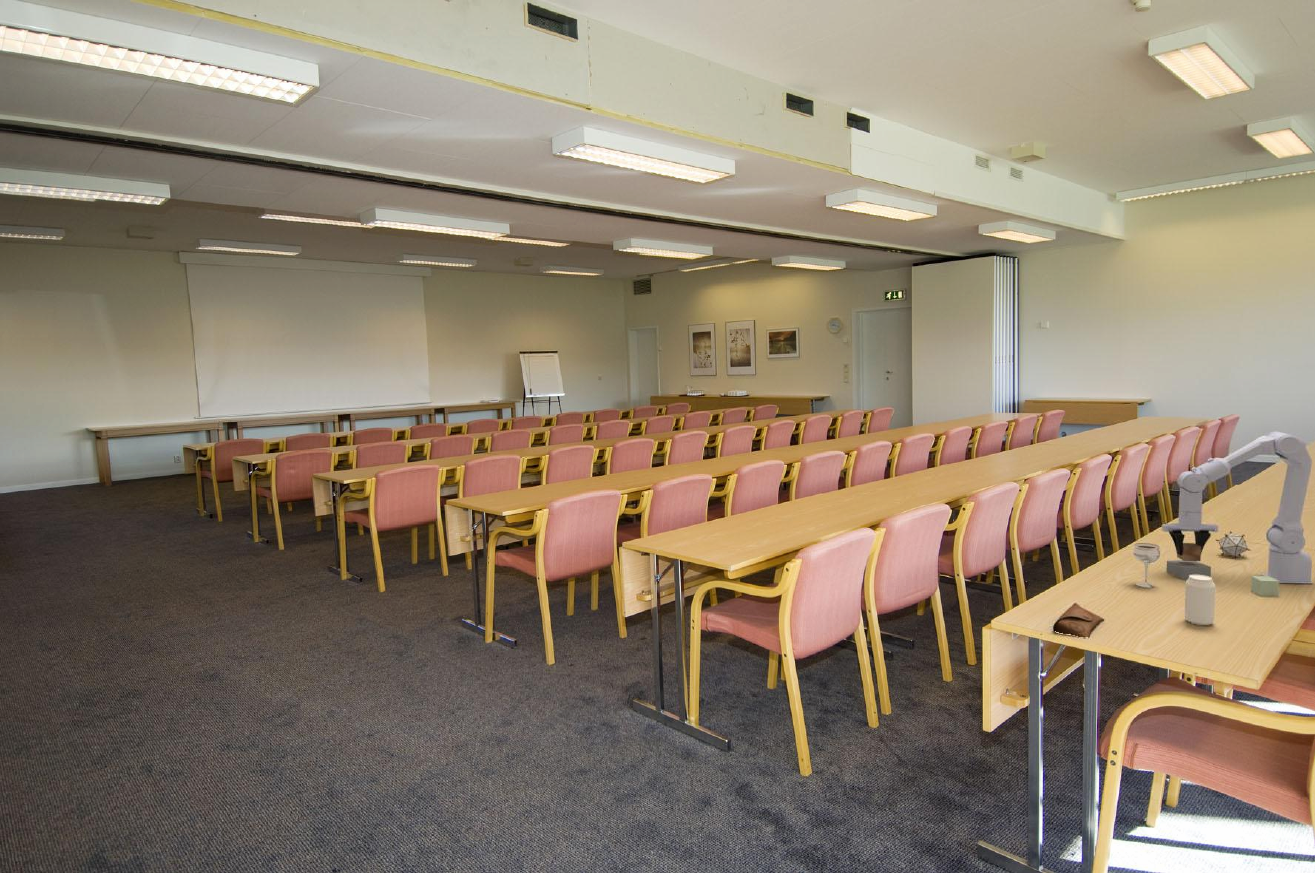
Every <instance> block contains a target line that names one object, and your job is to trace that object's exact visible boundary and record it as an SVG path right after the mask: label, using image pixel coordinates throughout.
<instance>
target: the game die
mask: <svg viewBox="0 0 1315 873" xmlns="http://www.w3.org/2000/svg"><path fill="white" fill-rule="evenodd" d="M1244 537H1245V534H1242V535H1239V534H1234V533H1232V531H1229V534H1226V533H1225V534H1224V536H1223V537H1221V538H1220V539H1215V541H1216V542H1218V544H1219V550H1221V552H1222V553H1221V556H1223V555H1224V554H1225V555H1228V556H1230V557H1233V558H1234V559H1235V560H1236V559H1237V556H1239V557H1241V555H1242V553H1245V552H1246V551H1252V550H1251V549H1250V548H1248V545H1247V543H1246V542H1247V541H1246V540H1245V538H1244Z"/></svg>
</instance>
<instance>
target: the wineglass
mask: <svg viewBox="0 0 1315 873" xmlns="http://www.w3.org/2000/svg"><path fill="white" fill-rule="evenodd" d="M1133 546H1134V548H1133V550H1132V551H1133V556H1134V557H1135V558H1136V559H1137V560H1138V561H1140V562H1142V563H1143V565H1144V581H1142V582H1137V583H1136V584H1135V585H1136V586H1138V587H1142V588H1151V589H1152V588H1156V587H1155V586H1156V585H1155V584H1153V583H1151V582H1147V580H1148V569H1149V567H1148V566H1149V565H1150V564H1151V563H1154V562H1156V561H1157V560H1158V559H1159V558H1160V556H1161V551H1160V548H1161V546H1160V545H1158V544H1154V543H1149V542H1148V543H1147V542H1136V543H1134V544H1133Z"/></svg>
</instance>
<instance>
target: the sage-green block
mask: <svg viewBox="0 0 1315 873" xmlns="http://www.w3.org/2000/svg"><path fill="white" fill-rule="evenodd" d="M1250 583H1251V584H1250V592H1252V593H1253V594H1256V595H1257V594H1258V595H1257V596H1260V597H1279V593H1280V583H1279V581H1278V580H1276V579H1274V578H1272V577H1270V576H1261V575H1251V581H1250Z"/></svg>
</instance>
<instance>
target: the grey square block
mask: <svg viewBox="0 0 1315 873" xmlns="http://www.w3.org/2000/svg"><path fill="white" fill-rule="evenodd" d="M1166 573H1167V574H1170V575H1171V574H1173V575H1172V576H1173V577H1176V578H1178V577H1179V578H1178V579H1181V580H1183V581H1187V580H1188V578H1189V575H1205V576H1209V577H1211V578H1212V576H1211V574H1212V567H1211V566H1209V565H1207V564H1205V563H1202V562H1200V561H1183V560H1181V559H1178V560H1175V559H1174V560H1166Z"/></svg>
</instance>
